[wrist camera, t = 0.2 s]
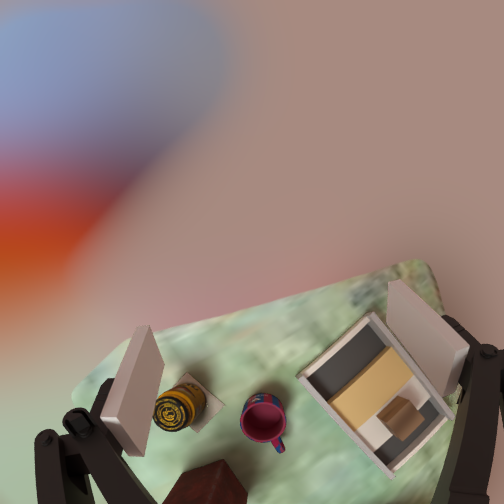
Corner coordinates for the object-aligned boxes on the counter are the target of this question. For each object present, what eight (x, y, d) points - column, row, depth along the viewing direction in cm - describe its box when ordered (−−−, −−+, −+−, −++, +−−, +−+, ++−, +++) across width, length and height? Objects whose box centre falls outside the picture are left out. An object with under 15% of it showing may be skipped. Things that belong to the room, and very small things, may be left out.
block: (412, 413, 43) (425, 419, 38) (391, 433, 42) (402, 441, 37) (397, 395, 44) (409, 400, 39) (375, 415, 43) (386, 423, 38)
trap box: (444, 412, 44) (455, 416, 40) (383, 472, 42) (391, 480, 38) (365, 313, 50) (373, 311, 46) (295, 376, 48) (298, 379, 44)
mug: (275, 387, 48) (276, 395, 41) (295, 437, 45) (299, 451, 39) (237, 400, 47) (233, 410, 41) (258, 450, 45) (257, 465, 38)
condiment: (186, 371, 49) (165, 381, 37) (224, 404, 47) (213, 424, 36) (161, 400, 48) (134, 415, 36) (197, 432, 46) (180, 456, 34)
